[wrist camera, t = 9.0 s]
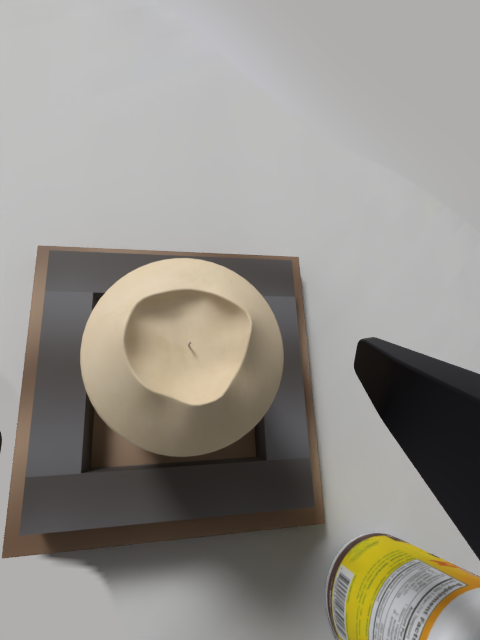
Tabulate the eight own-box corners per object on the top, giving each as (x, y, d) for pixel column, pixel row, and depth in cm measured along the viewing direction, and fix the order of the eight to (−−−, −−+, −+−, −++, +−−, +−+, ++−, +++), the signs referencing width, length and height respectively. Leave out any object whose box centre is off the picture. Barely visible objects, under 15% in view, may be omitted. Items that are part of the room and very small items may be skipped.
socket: (315, 517, 19) (344, 534, 16) (13, 548, 16) (-23, 577, 13) (291, 265, 22) (311, 240, 19) (45, 256, 20) (23, 225, 17)
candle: (216, 319, 19) (263, 217, 10) (246, 423, 18) (332, 418, 9) (109, 344, 18) (45, 253, 8) (133, 459, 17) (91, 499, 7)
